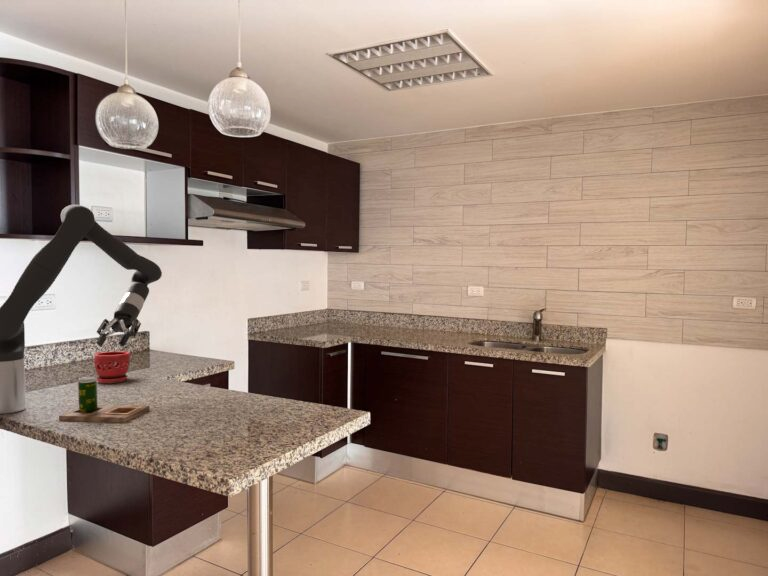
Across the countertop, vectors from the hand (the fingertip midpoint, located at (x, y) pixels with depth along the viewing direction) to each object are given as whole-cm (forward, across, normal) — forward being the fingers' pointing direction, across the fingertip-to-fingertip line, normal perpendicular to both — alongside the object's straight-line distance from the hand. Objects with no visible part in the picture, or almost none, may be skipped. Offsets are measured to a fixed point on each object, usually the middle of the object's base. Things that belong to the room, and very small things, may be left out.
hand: (110, 345), depth 190 cm
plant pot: (-8, -27, +39) cm, 48 cm away
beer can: (+23, 0, +6) cm, 24 cm away
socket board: (+23, +6, +6) cm, 25 cm away
